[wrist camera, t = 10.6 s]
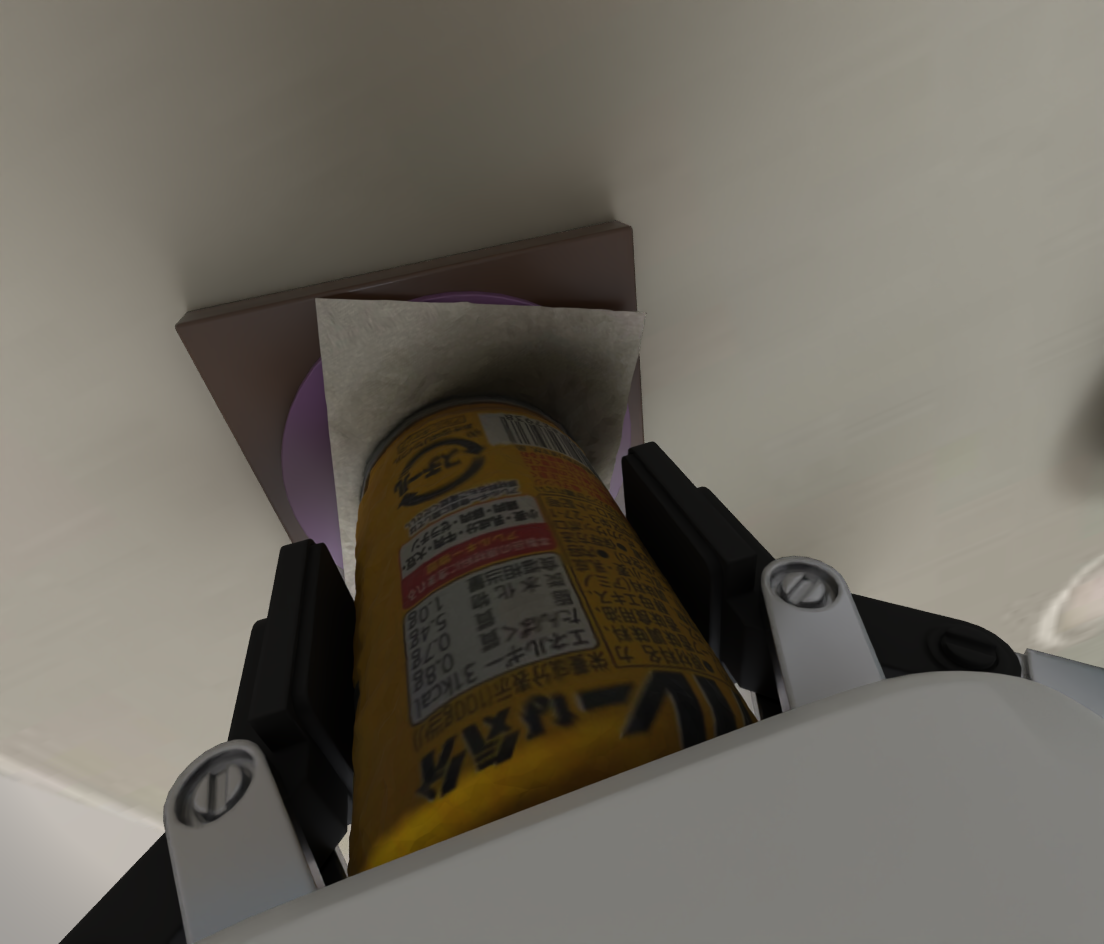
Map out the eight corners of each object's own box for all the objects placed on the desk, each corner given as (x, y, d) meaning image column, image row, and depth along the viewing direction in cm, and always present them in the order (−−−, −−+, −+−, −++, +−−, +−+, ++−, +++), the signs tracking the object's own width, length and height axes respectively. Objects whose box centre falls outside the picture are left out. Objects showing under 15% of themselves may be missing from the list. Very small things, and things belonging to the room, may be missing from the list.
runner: (184, 311, 12) (167, 330, 11) (617, 218, 13) (639, 227, 12) (488, 889, 30) (492, 917, 29) (658, 821, 32) (669, 846, 30)
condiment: (347, 601, 16) (322, 1402, 6) (315, 295, 11) (25, 1394, 2) (590, 574, 18) (865, 1128, 8) (641, 307, 13) (1372, 809, 4)
